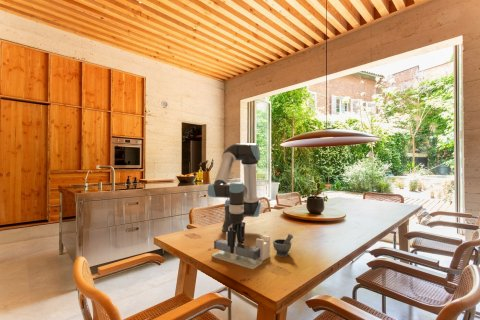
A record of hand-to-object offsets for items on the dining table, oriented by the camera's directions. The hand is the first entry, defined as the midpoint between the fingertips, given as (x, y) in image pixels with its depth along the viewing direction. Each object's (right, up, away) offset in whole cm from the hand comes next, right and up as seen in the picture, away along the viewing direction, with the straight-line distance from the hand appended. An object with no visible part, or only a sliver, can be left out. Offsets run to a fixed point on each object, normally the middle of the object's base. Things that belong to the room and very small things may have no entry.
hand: (236, 257), depth 125 cm
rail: (0, +3, 0) cm, 3 cm away
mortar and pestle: (+26, -2, +7) cm, 27 cm away
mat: (0, -1, 0) cm, 1 cm away
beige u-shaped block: (+14, -1, +3) cm, 15 cm away
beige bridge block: (-2, -1, +14) cm, 15 cm away
